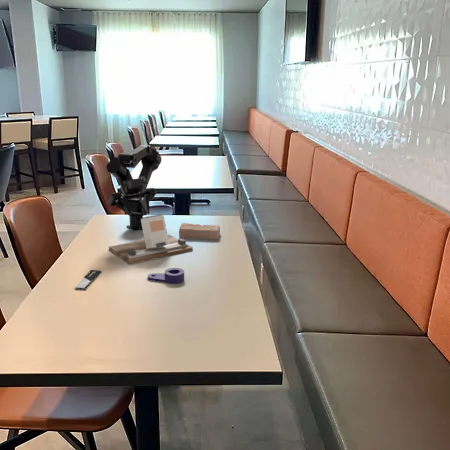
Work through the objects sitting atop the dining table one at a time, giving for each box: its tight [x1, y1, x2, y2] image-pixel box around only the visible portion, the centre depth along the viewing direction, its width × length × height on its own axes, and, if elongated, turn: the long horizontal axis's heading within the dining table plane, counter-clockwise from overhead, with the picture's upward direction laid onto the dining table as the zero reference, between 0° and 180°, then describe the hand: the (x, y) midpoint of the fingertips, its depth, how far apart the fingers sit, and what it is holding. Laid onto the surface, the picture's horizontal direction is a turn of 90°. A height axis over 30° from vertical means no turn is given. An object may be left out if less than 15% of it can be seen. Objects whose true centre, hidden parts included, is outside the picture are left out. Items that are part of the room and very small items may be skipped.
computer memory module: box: [74, 269, 103, 291], centre depth 151 cm, size 15×1×4 cm
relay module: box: [141, 213, 169, 249], centre depth 173 cm, size 6×7×12 cm
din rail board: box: [108, 234, 194, 265], centre depth 178 cm, size 18×26×4 cm
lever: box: [147, 267, 185, 285], centre depth 153 cm, size 12×6×3 cm, turn 84°
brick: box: [178, 222, 221, 241], centre depth 195 cm, size 17×8×5 cm, turn 88°
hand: (140, 215), depth 182 cm, fingers open, 7 cm apart
